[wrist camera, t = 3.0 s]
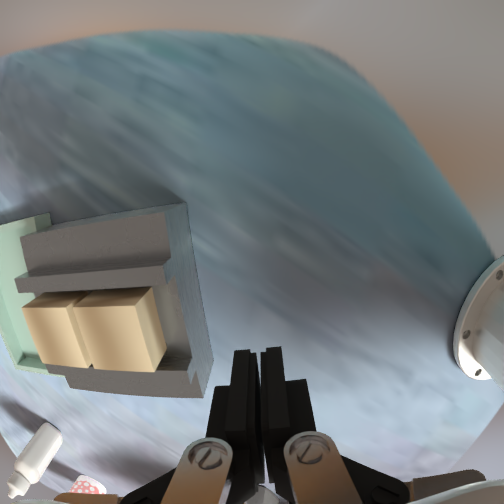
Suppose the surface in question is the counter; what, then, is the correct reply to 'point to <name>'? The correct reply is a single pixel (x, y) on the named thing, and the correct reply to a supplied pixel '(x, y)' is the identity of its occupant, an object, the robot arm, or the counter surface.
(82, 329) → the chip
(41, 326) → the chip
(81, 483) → the beverage cup
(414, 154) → the counter surface
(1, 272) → the tray
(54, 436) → the eye dropper bottle
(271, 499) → the coffeepot
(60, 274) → the grey ridged block
